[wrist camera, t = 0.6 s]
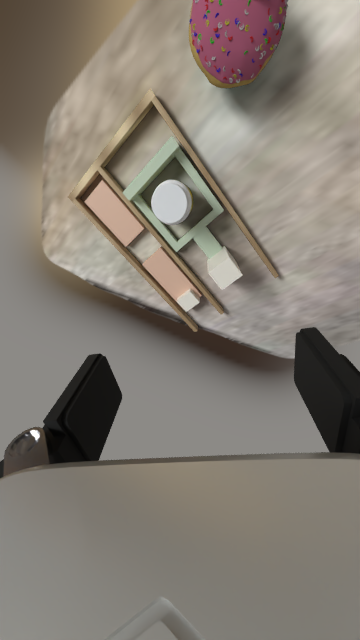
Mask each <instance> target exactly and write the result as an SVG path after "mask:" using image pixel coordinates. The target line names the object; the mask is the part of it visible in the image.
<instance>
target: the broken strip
mask: <svg viewBox="0 0 360 640" xmlns="http://www.w3.org/2000/svg"><path fill="white" fill-rule="evenodd" d="M85 203H86V204H87V205H88V206H89V207H90V209H91V210H92V211H93V212H94V213H95V214H96V215H97V216H98V217H99V218H100V219H101V221H102V222H103V223H104V224H105V225H106V226H107V227H108V228H109V229H110V230H111V231H112V232H113V234H114V235H115V236H116V237H117V238H118V239H119V240H120V241H121V242H122V243H123V244H124V245H125V247H126V246H128V245H129V244H130V243H131V242H132V241H133V240H134V239H135V238H136V237H137V236H138V235H139V234H140V233H141V232H142V231H143V230H144V229H145V227H144V225H143V224H142V223H141V222H140V221H139V220H138V218H137V217H136V216H135V215H134V214H133V213H132V211H131V210H130V209H129V208H128V207H127V206H126V204H125V203H124V202H123V201H122V200H121V199H120V197H119V196H118V195H117V194H116V193H115V192H114V190H113V189H112V188H111V187H110V186H109V185H108V183H107V182H106V181H105V180H102V181H101V182H100V183H99V184H98V186H97V187H96V188H95V189H94V191H93V192H92V193H91V194H90V196H89V197H88V198H87V199H86V201H85ZM142 265H143V266H144V267H145V268H146V269H147V270H148V272H149V273H150V274H151V275H152V276H153V277H154V278H155V279H156V280H157V281H158V282H159V284H160V285H161V286H162V287H163V288H164V289H165V290H166V291H167V292H168V293H169V294H170V295H171V297H172V298H173V299H174V300H175V301H176V302H177V303H178V304H179V305H180V306H181V307H182V308H183V309H184V310H185V311H186V312H187V311H188V310H190V309H191V308H193V307H194V306H195V305H197V304H198V303H199V302H200V299H199V298H200V297H201V296H202V293H201V292H200V291H199V290H198V288H197V287H196V286H195V285H194V284H193V283H192V281H191V280H190V279H189V278H188V277H187V276H186V274H185V273H184V272H183V271H182V270H181V269H180V267H179V266H178V265H177V264H176V263H175V262H174V260H173V259H172V258H171V257H170V256H169V255H168V253H167V252H166V251H165V250H164V249H163V248H162V246H161V247H160V248H159V249H158V250H157V251H156V252H155V253H154V254H153V255H151V256H150V257H149V258H148V259H147V260H146V261H145V262H144V263H143V264H142Z"/></svg>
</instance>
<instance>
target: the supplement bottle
mask: <svg viewBox="0 0 360 640" xmlns="http://www.w3.org/2000/svg"><path fill="white" fill-rule="evenodd" d="M151 205H152V210H153V212H154V214H155V216H156V217H157V218H158V219H159V220H160V221H161V222H163V223H165V224H168V225H176V224H179V223H181V222H183V221H184V220H185V219H186V218H187V217H188V215H189V214H190V212H191V210H192V207H193V196H192V193H191V191H190V189H189V188H188V187H187V186H186V185H184V184H183V183H181V182H180V181H177V180H166V181H164V182H162V183H161V184H159V185H158V187H157V188H156V189H155V191H154V193H153V195H152V200H151Z"/></svg>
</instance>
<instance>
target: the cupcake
mask: <svg viewBox="0 0 360 640" xmlns="http://www.w3.org/2000/svg"><path fill="white" fill-rule="evenodd" d="M287 2H288V0H193V3H192V8H191V15H190V23H189V42H190V47H191V51H192V54H193V57H194V59H195V61H196V63H197V65H198V66H199V68H200V69H201V70H202V72H203V73H204V74H205V75H206V77H207V78H208V80H209V82H210V83H211V84H213V85H214V86H216V87H219V88H233V87H238V86H242V85H246V84H249V83H251V82H253V81H254V80H255V79H256V77H257V76H258V75H259V74H260V72H261V71H262V70H263V68H264V67H265V66H266V64H267V63H268V61H269V60H270V58H271V56H272V55H273V53H274V51H275V49H276V48H277V46H278V43H279V41H280V38H281V35H282V31H283V29H284V24H285V18H286V9H287V6H288V5H287Z"/></svg>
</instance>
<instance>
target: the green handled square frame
mask: <svg viewBox="0 0 360 640" xmlns="http://www.w3.org/2000/svg"><path fill="white" fill-rule="evenodd" d="M174 157H176V158H177V159H178V161H179V162H180V164H181V165H182V166H183V168H184V169H185V171H186V172H187V173H188V175H189V176H190V178H191V179H192V180H193V182H194V183H195V184H196V186H197V187H198V189H199V190H200V191H201V193H202V194H203V196H204V197H205V198H206V200H207V201H208V203H209V204H210V205H211V207H212V208H213V210H212V211H210V212H209V213H208V214H207V215H206V216H205V217H204V218H203V219H202V220H200V221H199V222H198V223H197V224H196V225H195V226H194V227H193V228H192V229H190V230H189V231H188V232H187V233H186V234H185V235H184V236H183V237H181V238H180V239H179V240H178V241H177V239H176V238H175V237H174V236H173V234H172V233H171V232H170V231H169V230H168V228H167V227H166V226H165V225H164V223H163V222H161V221H160V220H159V219H158V218H157V217H156V216H155V214H154V212H153V210H152V209H151V208H150V206H149V205H148V204H147V203H146V202H145V200H144V199H143V198H142V197H141V195H140V194H141V193H142V192H143V191H144V190H145V189H146V188H147V187H148V186H149V185H150V184H151V183H152V181H153V180H154V179H155V178H156V177H157V176H158V175H159V174H160V173H161V172H162V171H163V169H164V168H165V167H166V166H167V165H168V164H169V163H170V162H171V161H172V160H173V159H174ZM123 194H124V195H125V197H126V198H127V199H128V200H129V201H134V202H135V204H136V205H137V206H138V207H139V208H140V210H141V211H142V212H143V213H144V214H145V215H146V217H147V218H148V219H149V220H150V221H151V223H152V224H153V225H154V226H155V227H156V229H157V230H158V231H159V232H160V233H161V235H162V236H163V237H164V238H165V239H166V240H167V242H168V243H169V244H170V245H171V246H172V248H173V249H174V250H175V251H176V252H177V251H178V250H179V249H181V248H182V247H183V246H184V245H185V244H186V243H187V242H189V241H190V240H191V239H192V238H193V239H194V240H195V242H196V243H197V244H198V245H199V247H200V248H201V249H202V250H203V252H204V253H205V254H206V256H207V257H208V259H207V264H208V274H209V275H210V276H211V277H212V279H213V280H214V281H215V282H216V283H217V285H218V286H219V287H220V288H221V290H223V289H224V288H226V287H227V286H229V285H230V284H231V283H233V282H234V281H236V280H237V279H238V278H240V277H241V276H243V275H242V273H241V271H240V268H239V266H238V264H237V262H236V260H235V259H234V258H233V256H232V255H231V254H230V252H229V251H228V250H227V248H226V247H225V246H223V247H222V246H221V245H220V244H219V242H218V241H217V240H216V238H215V237H214V236H213V234H212V233H211V232H210V231H209V229H208V228H207V227H206V226H207V225H208V224H209V223H210V222H211V221H213V220H214V219H215V218H216V217H217V216H218V215H219V214H221V213H222V212H223V211H224V210H223V208H222V207H221V205H220V204H219V203H218V201H217V200H216V198H215V197H214V195H213V194H212V193H211V191H210V190H209V188H208V187H207V185H206V184H205V183H204V181H203V180H202V178H201V177H200V176H199V174H198V173H197V171H196V170H195V168H194V167H193V166H192V164H191V163H190V161H189V160H188V158H187V157H186V156H185V154H184V153H183V151H182V150H181V149H180V147H179V145H178V144H177V142H176V141H175V139H174V138H173V136H172V137H171V138H170V139H169V140H168V141H167V142H166V143H165V145H164V146H163V147H162V148H161V149H160V150H159V151H158V153H157V154H156V155H155V156H154V157H153V158H152V159H151V161H150V162H149V163H148V164H147V165H146V166H145V167H144V169H143V170H142V171H141V172H140V173H139V174H138V175H137V177H136V178H135V179H134V180H133V181H132V182H131V183H130V185H129V186H128V187H127V188H126V189H125V190H124V191H123Z"/></svg>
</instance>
